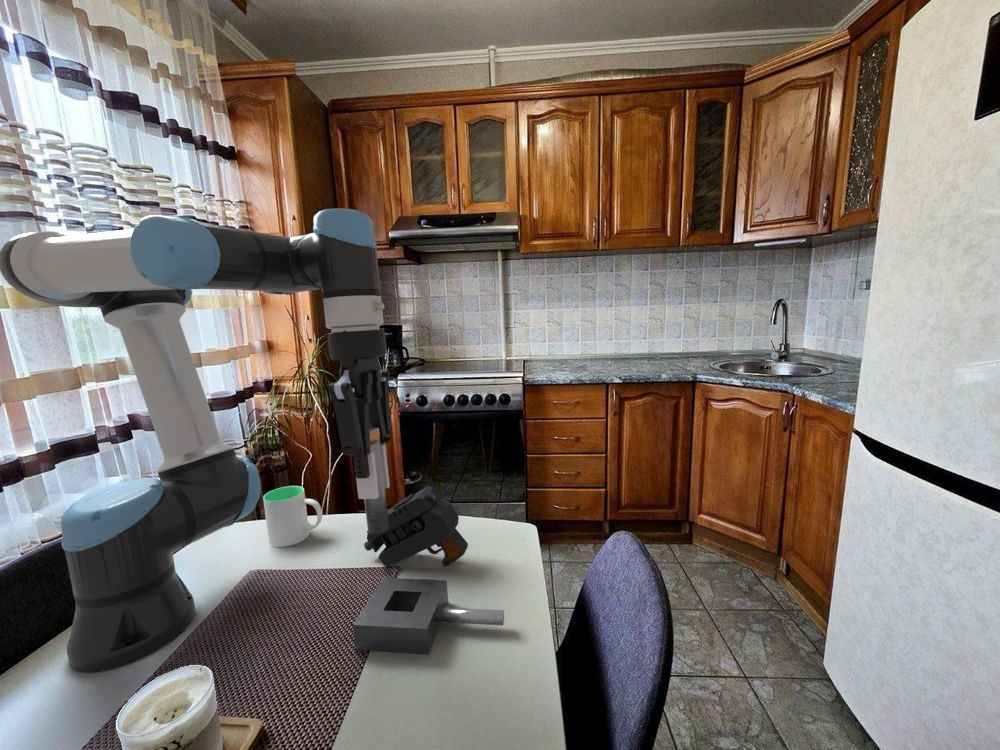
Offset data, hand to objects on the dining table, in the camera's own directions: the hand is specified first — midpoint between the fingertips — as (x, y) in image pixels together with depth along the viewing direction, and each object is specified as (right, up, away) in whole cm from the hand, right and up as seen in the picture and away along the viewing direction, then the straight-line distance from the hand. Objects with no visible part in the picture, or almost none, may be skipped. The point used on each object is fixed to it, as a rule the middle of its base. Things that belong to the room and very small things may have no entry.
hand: (374, 492), depth 61 cm
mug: (-27, -19, +33) cm, 47 cm away
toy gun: (+2, -20, +22) cm, 30 cm away
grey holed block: (+8, -22, +4) cm, 24 cm away
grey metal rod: (0, -6, +1) cm, 6 cm away
